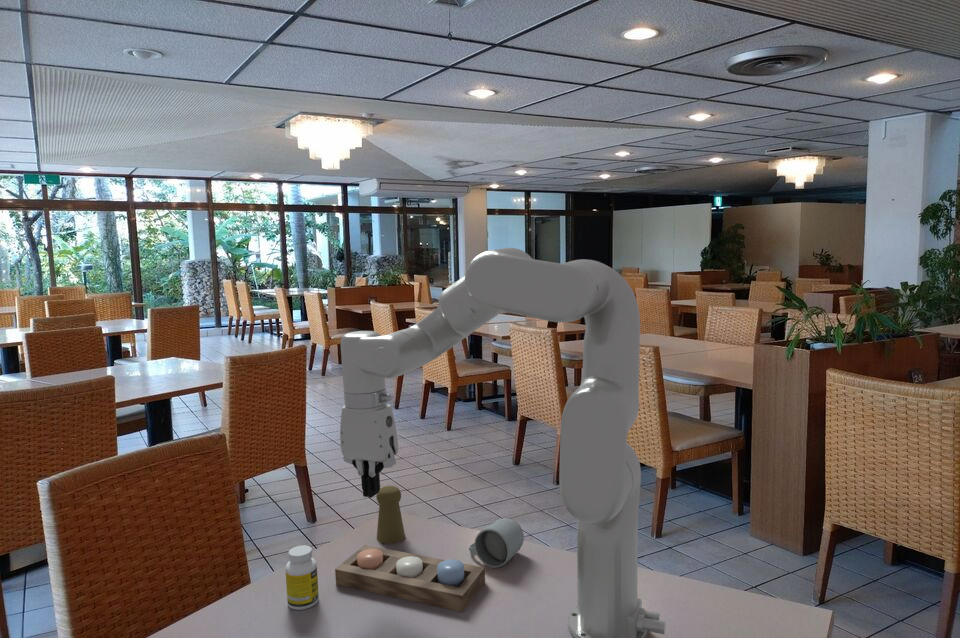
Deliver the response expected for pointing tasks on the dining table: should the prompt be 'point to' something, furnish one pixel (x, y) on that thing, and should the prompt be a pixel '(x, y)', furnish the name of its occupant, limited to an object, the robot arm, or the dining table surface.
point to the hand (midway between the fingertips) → (371, 494)
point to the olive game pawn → (389, 516)
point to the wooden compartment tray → (411, 580)
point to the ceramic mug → (498, 542)
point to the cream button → (409, 567)
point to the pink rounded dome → (370, 559)
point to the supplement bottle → (301, 578)
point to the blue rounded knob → (450, 572)
